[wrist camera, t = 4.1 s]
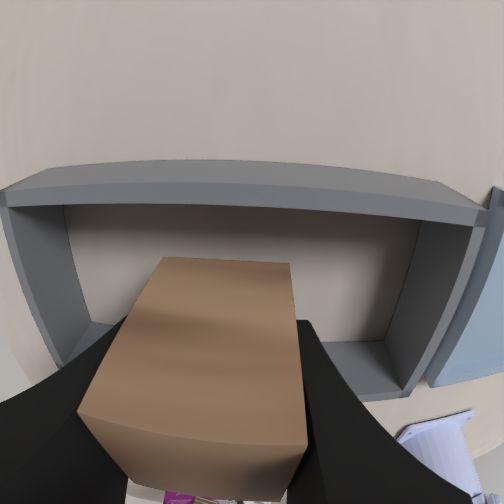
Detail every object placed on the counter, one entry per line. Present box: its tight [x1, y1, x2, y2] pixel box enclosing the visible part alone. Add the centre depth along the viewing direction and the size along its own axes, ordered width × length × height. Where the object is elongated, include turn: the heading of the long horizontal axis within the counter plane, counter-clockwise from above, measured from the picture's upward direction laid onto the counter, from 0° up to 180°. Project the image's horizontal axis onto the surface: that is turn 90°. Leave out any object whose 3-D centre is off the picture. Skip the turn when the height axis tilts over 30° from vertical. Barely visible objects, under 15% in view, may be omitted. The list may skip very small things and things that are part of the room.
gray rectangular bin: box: [0, 160, 490, 402], centre depth 11 cm, size 9×17×4 cm, turn 88°
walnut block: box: [77, 257, 308, 502], centre depth 8 cm, size 4×4×6 cm
